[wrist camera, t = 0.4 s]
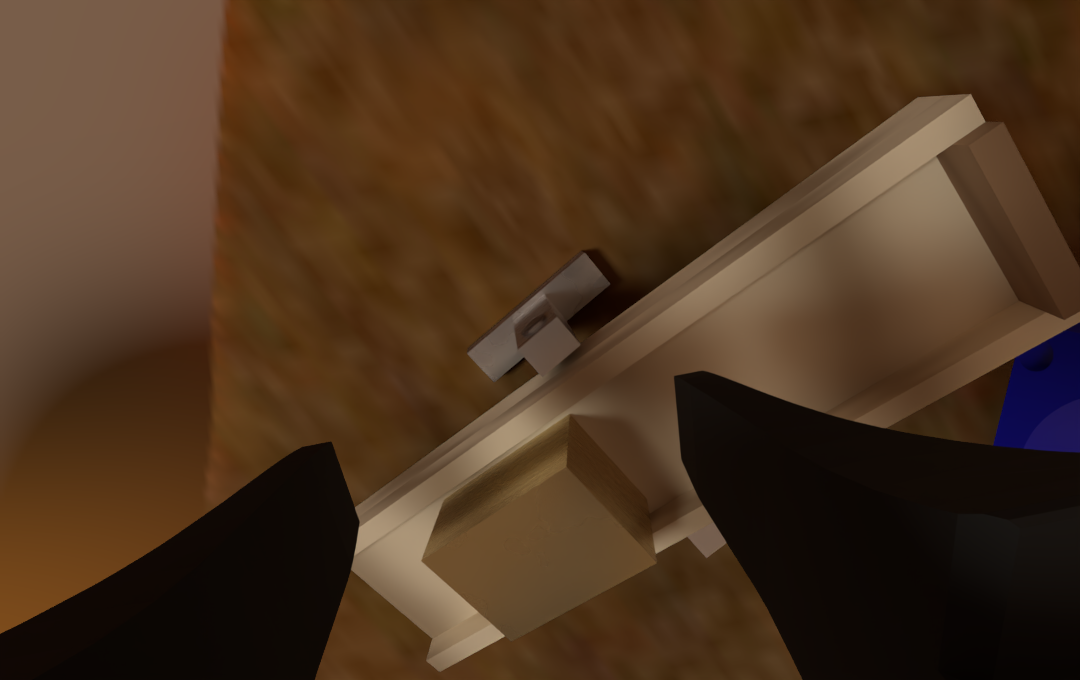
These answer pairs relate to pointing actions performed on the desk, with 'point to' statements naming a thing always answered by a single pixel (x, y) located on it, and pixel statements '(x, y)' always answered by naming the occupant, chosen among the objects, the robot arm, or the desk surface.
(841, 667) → the robot arm
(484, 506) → the block
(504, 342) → the pivot stand
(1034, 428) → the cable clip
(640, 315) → the balance beam
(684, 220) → the desk surface
